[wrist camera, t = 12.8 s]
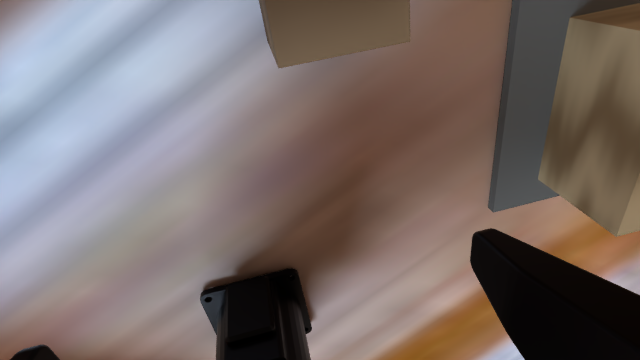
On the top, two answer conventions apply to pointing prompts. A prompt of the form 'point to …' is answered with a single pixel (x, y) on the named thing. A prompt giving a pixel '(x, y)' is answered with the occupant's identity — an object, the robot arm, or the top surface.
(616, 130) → the wooden block
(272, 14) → the brown wooden cube
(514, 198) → the mat
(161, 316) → the top surface
